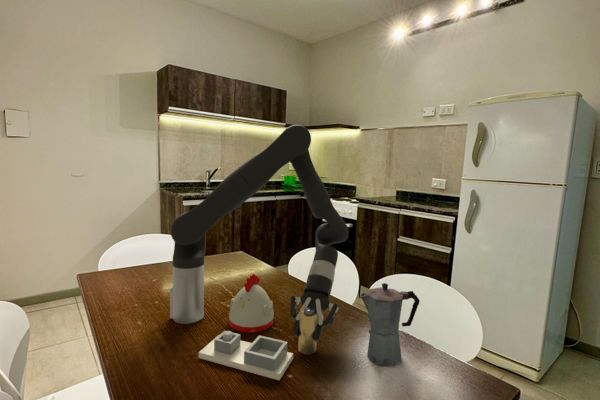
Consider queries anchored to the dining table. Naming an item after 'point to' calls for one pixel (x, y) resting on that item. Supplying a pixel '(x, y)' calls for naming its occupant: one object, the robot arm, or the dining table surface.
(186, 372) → the dining table surface
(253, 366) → the white tray
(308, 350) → the gold bottle
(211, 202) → the robot arm
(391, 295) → the moka pot
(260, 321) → the kitchen timer
